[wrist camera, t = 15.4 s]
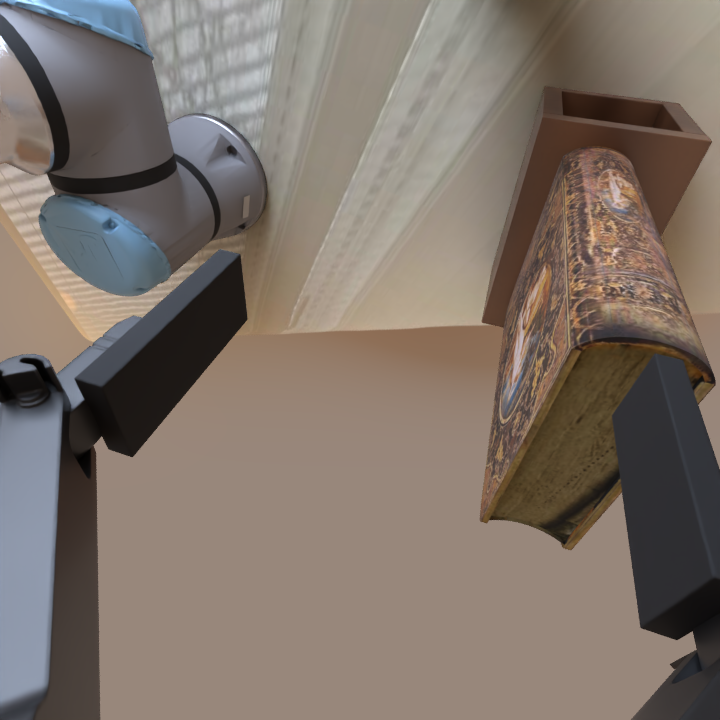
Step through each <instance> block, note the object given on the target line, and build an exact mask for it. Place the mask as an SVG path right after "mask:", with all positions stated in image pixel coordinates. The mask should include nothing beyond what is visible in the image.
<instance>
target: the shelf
mask: <svg viewBox="0 0 720 720" xmlns="http://www.w3.org/2000/svg"><path fill="white" fill-rule="evenodd" d="M711 143H712V141H711V140H710V139H709V137H708V136H707V135H706V134H705V133H704V132H703V131H702V130H701V129H700V127H699V126H698V125H697V124H696V123H695V122H694V120H693V119H692V118H691V117H690V116H689V115H688V113H687V112H686V111H685V110H684V109H683V108H682V106H681V105H680V104H678V103H671V102H663V101H662V102H661V101H655V100H648V99H640V98H632V97H624V96H617V95H609V94H601V93H593V92H586V91H578V90H570V89H561V88H555V87H547V86H545V87H544V89H543V93H542V96H541V100H540V103H539V107H538V110H537V114H536V117H535V121H534V124H533V128H532V131H531V135H530V138H529V142H528V145H527V149H526V152H525V156H524V159H523V162H522V166H521V169H520V173H519V176H518V180H517V183H516V187H515V190H514V194H513V197H512V201H511V204H510V208H509V211H508V215H507V218H506V222H505V225H504V229H503V232H502V235H501V239H500V242H499V246H498V249H497V253H496V256H495V260H494V263H493V267H492V271H491V277H490V282H489V287H488V292H487V297H486V302H485V307H484V312H483V317H482V323H486V324H491V325H495V326H500V327H504V323H505V317H506V312H507V308H508V304H509V302H510V299H511V296H512V293H513V290H514V288H515V285H516V282H517V279H518V277H519V274H520V271H521V269H522V266H523V263H524V260H525V258H526V255H527V252H528V249H529V247H530V244H531V241H532V239H533V236H534V233H535V230H536V228H537V225H538V222H539V220H540V217H541V214H542V211H543V209H544V206H545V203H546V201H547V198H548V195H549V192H550V190H551V187H552V184H553V182H554V179H555V176H556V173H557V171H558V168H559V165H560V163H561V160H562V158H563V157H564V156H565V155H566V154H568V153H569V152H571V151H573V150H575V149H578V148H582V147H588V146H600V147H606V148H611V149H614V150H616V151H619V152H621V153H622V154H624V155H625V156H626V157H627V158H628V159H629V160H630V161H631V163H632V165H633V167H634V170H635V173H636V175H637V178H638V180H639V183H640V186H641V188H642V191H643V193H644V196H645V198H646V201H647V204H648V206H649V209H650V211H651V214H652V217H653V219H654V222H655V224H656V227H657V229H658V232H659V235H660V237H661V235H662V233H663V231H664V229H665V227H666V226H667V224H668V222H669V220H670V218H671V216H672V215H673V213H674V211H675V209H676V207H677V205H678V204H679V202H680V200H681V198H682V196H683V194H684V192H685V191H686V189H687V187H688V185H689V183H690V181H691V180H692V178H693V176H694V174H695V172H696V170H697V168H698V167H699V165H700V163H701V161H702V159H703V157H704V156H705V154H706V152H707V150H708V148H709V146H710V144H711Z"/></svg>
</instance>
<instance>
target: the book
mask: <svg viewBox="0 0 720 720" xmlns="http://www.w3.org/2000/svg"><path fill="white" fill-rule="evenodd" d="M654 354H659V355H664V356H668V357H672V358H676V359H680V360H683V361H684V364H685V367H686V370H687V373H688V376H689V379H690V382H691V385H692V388H693V391H694V394H695V397H696V400H697V403H698V404H699V403H700V402H701V401H702V400H703V398H704V397H705V396H706V395H707V394H708V393H709V392H710V390H711V389H712V388H713V387H714V386H715V377H714V374H713V372H712V369H711V367H710V364H709V361H708V359H707V356H706V354H705V351H704V348H703V346H702V343H701V341H700V338H699V336H698V333H697V330H696V328H695V325H694V323H693V320H692V317H691V315H690V312H689V310H688V307H687V304H686V302H685V299H684V297H683V294H682V292H681V289H680V286H679V284H678V281H677V279H676V276H675V273H674V271H673V268H672V266H671V263H670V260H669V258H668V255H667V253H666V250H665V248H664V245H663V242H662V240H661V237H660V235H659V232H658V229H657V227H656V224H655V222H654V219H653V217H652V214H651V211H650V209H649V206H648V204H647V201H646V198H645V196H644V193H643V191H642V188H641V186H640V183H639V180H638V178H637V175H636V173H635V170H634V167H633V165H632V163H631V161H630V160H629V159H628V158H627V157H626V156H625V155H624V154H622V153H621V152H619V151H616V150H614V149H611V148H606V147H600V146H588V147H582V148H578V149H575V150H573V151H571V152H569V153H568V154H566V155H565V156H564V157H563V158H562V160H561V163H560V165H559V168H558V171H557V173H556V176H555V179H554V182H553V184H552V187H551V190H550V192H549V195H548V198H547V201H546V203H545V206H544V209H543V211H542V214H541V217H540V220H539V222H538V225H537V228H536V230H535V233H534V236H533V239H532V241H531V244H530V247H529V249H528V252H527V255H526V258H525V260H524V263H523V266H522V269H521V271H520V274H519V277H518V279H517V282H516V285H515V288H514V290H513V293H512V296H511V299H510V302H509V304H508V308H507V312H506V317H505V323H504V331H503V339H502V347H501V354H500V362H499V369H498V377H497V385H496V392H495V401H494V408H493V415H492V424H491V431H490V439H489V446H488V454H487V462H486V469H485V477H484V486H483V493H482V501H481V510H480V521H481V522H484V523H487V522H488V521H489V520H508V521H513V522H518V523H522V524H526V525H529V526H531V527H534V528H537V529H539V530H541V531H543V532H545V533H547V534H549V535H551V536H552V537H554V538H556V539H557V540H558V541H560V542H561V544H562V547H563V548H565V549H568V550H572V549H573V548H574V546H575V545H576V544H577V543H578V541H579V540H580V539H581V538H582V537H583V536H584V535H585V534H586V533H587V532H588V530H589V529H590V528H591V527H592V526H593V525H594V523H595V522H596V521H597V520H598V519H599V518H600V517H601V515H602V514H603V513H604V512H605V511H606V510H607V509H608V507H609V506H610V505H611V504H612V503H613V502H614V501H615V499H616V498H617V497H618V496H619V495H620V494H621V493H622V488H621V480H620V473H619V466H618V458H617V451H616V444H615V436H614V429H613V421H612V415H613V413H614V412H615V410H616V409H617V407H618V406H619V404H620V403H621V402H622V400H623V399H624V397H625V396H626V394H627V393H628V391H629V390H630V389H631V387H632V386H633V384H634V383H635V381H636V380H637V378H638V377H639V375H640V374H641V373H642V371H643V370H644V368H645V367H646V365H647V364H648V362H649V361H650V360H651V358H652V357H653V355H654Z"/></svg>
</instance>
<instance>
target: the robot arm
mask: <svg viewBox="0 0 720 720" xmlns="http://www.w3.org/2000/svg"><path fill="white" fill-rule="evenodd" d="M153 59H154V57H153V54H152V52H151V51H150V49H149V48H148V44H147V41H146V37H145V33H144V30H143V26H142V23H141V19H140V16H139V14H138V12H137V10H136V8H135V7H134V6H133V5H132V4H131V2H130V1H129V0H0V164H3V163H7V164H9V165H12V166H14V167H16V168H18V169H20V170H22V171H24V172H26V173H29V174H32V175H43V174H47V175H48V177H49V180H50V182H51V185H52V187H53V189H54V192H55V195H53V196H51V197H49V198H48V199H47V200H46V201H45V203H44V204H43V205H42V207H41V209H40V212H41V213H40V215H39V225H40V228H41V231H42V234H43V236H44V238H45V240H46V241H47V243H48V245H49V246H50V248H51V249H52V250H53V252H54V253H55V254H56V255H57V257H58V258H59V259H60V260H61V261H62V262H63V263H64V264H65V265H66V266H67V267H68V268H69V269H70V270H72V271H73V272H74V273H75V274H76V275H78V276H80V277H81V278H82V279H84V280H85V281H86V282H88V283H90V284H91V285H93V286H95V287H97V288H99V289H101V290H103V291H106V292H108V293H112V294H115V295H120V296H138V295H141V294H144V293H146V292H148V291H149V290H151V289H152V288H154V287H155V286H156V285H158V284H160V283H162V282H165V281H166V280H167V279H168V278H169V277H170V276H171V275H172V274H173V273H174V272H175V271H177V270H178V269H179V268H180V267H181V266H182V265H183V264H185V263H186V262H187V261H188V260H189V259H190V258H192V257H193V256H194V255H195V254H196V253H197V252H198V251H200V250H201V249H202V248H203V247H204V246H205V245H207V244H208V243H209V242H210V241H212V240H216V239H221V238H226V237H230V236H234V235H237V234H239V233H241V232H243V231H245V230H247V229H248V228H249V227H251V226H252V225H253V224H254V223H255V222H256V221H257V220H258V219H259V217H260V216H261V214H262V212H263V210H264V207H265V203H266V197H267V187H266V180H265V175H264V172H263V168H262V166H261V163H260V161H259V159H258V157H257V155H256V153H255V152H254V150H253V149H252V147H251V146H250V144H249V143H248V142H247V140H246V139H245V138H244V137H243V136H242V135H241V134H240V133H239V132H238V131H237V130H236V129H234V128H233V127H232V126H230V125H229V124H228V123H226V122H224V121H222V120H221V119H218V118H216V117H213V116H210V115H206V114H189V115H186V116H183V117H181V118H178V119H176V120H174V121H173V122H171V123H170V124H169V125H167V121H166V117H165V113H164V109H163V105H162V101H161V97H160V93H159V88H158V84H157V80H156V76H155V72H154V68H153V64H152V60H153ZM246 321H247V309H246V300H245V291H244V282H243V273H242V264H241V255H240V254H238V253H233V252H229V251H225V250H221V249H220V250H218V251H217V252H216V253H215V254H214V255H213V256H212V257H211V258H209V259H208V260H207V261H206V262H205V263H204V264H203V265H202V266H200V267H199V268H198V269H197V270H196V271H195V272H194V273H192V274H191V275H190V276H189V277H188V278H187V279H186V280H185V281H183V282H182V283H181V284H180V285H179V286H178V287H177V288H176V289H174V290H173V291H172V292H171V293H170V294H169V295H168V296H167V297H165V298H164V299H163V300H162V301H161V302H160V303H159V304H158V305H156V306H155V307H154V308H153V309H152V310H151V311H150V312H149V313H147V314H146V315H145V316H144V317H143V318H141V317H137V316H132V317H130V318H127V319H125V320H123V321H121V322H119V323H117V324H115V325H114V326H113V327H112V328H111V329H109V330H108V331H107V332H106V333H105V334H103V337H100V338H99V339H98V340H96V341H95V342H94V343H93V345H92V346H89V347H88V348H87V349H86V350H85V351H83V352H82V353H81V354H80V355H79V356H77V358H75V359H74V360H73V361H72V362H70V363H69V364H68V365H67V366H66V367H64V368H63V369H62V370H61V371H60V372H59V373H57V374H56V373H55V371H54V369H53V367H52V365H51V363H50V361H49V360H47V359H46V358H45V357H44V356H41V355H36V354H26V355H19V356H15V357H12V358H9V359H7V360H5V361H3V362H1V363H0V720H100V680H99V613H98V546H97V482H96V481H97V480H96V451H95V448H94V446H93V445H94V444H95V443H96V442H97V441H98V440H99V439H100V437H101V436H102V437H103V439H104V441H105V443H106V445H107V447H108V449H110V450H112V451H115V452H119V453H121V454H124V455H127V456H130V457H133V456H134V455H135V454H136V453H137V451H138V450H139V449H140V448H141V446H142V445H143V444H144V443H145V442H146V441H147V439H148V438H149V437H150V436H151V435H152V433H153V432H154V431H155V430H156V429H157V427H158V426H159V425H160V424H161V423H162V421H163V420H164V419H165V418H166V417H167V415H168V414H169V413H170V412H171V411H172V409H173V408H174V407H175V406H176V404H177V403H178V402H179V401H180V400H181V399H182V397H183V396H184V395H185V394H186V393H187V391H188V390H189V389H190V388H191V387H192V385H193V384H194V383H195V382H196V380H197V379H198V378H199V377H200V376H201V375H202V373H203V372H204V371H205V370H206V369H207V367H208V366H209V365H210V364H211V363H212V361H213V360H214V359H215V358H216V356H217V355H218V354H219V353H220V352H221V351H222V349H223V348H224V347H225V346H226V345H227V343H228V342H229V341H230V340H231V339H232V337H233V336H234V335H235V334H236V333H237V331H238V330H239V329H240V328H241V327H242V325H243V324H244V323H245V322H246ZM612 421H613V429H614V436H615V444H616V451H617V458H618V466H619V473H620V480H621V488H622V495H623V502H624V510H625V517H626V524H627V532H628V539H629V546H630V554H631V560H632V569H633V576H634V583H635V590H636V598H637V605H638V613H639V619H640V627H641V628H642V629H646V630H648V631H651V632H654V633H657V634H660V635H663V636H666V637H669V638H672V639H675V640H678V639H680V638H682V637H683V636H685V635H687V634H688V633H690V632H692V631H693V634H694V639H695V643H696V648H697V650H695V651H693V652H691V653H690V654H688V655H686V656H684V657H682V658H680V659H678V660H676V661H675V662H673V663H671V664H670V665H671V666H672V667H673V668H674V669H675V670H674V671H673V673H672V674H671V675H670V676H669V677H668V678H667V679H666V681H665V682H664V683H663V684H662V685H661V686H660V687H659V688H658V690H657V691H656V692H655V693H654V694H653V695H652V696H651V698H650V699H649V700H648V701H647V702H646V703H645V704H644V705H643V707H642V708H641V709H640V710H639V711H638V712H637V713H636V715H635V716H634V717H633V718H632V719H631V720H720V469H719V466H718V464H717V460H716V458H715V454H714V451H713V448H712V446H711V442H710V439H709V436H708V433H707V430H706V427H705V424H704V421H703V418H702V415H701V412H700V409H699V406H698V403H697V400H696V397H695V394H694V391H693V388H692V385H691V382H690V379H689V376H688V373H687V370H686V367H685V364H684V361H683V360H680V359H676V358H672V357H668V356H664V355H659V354H654V355H653V357H652V358H651V360H650V361H649V362H648V364H647V365H646V367H645V368H644V370H643V371H642V373H641V374H640V375H639V377H638V378H637V380H636V381H635V383H634V384H633V386H632V387H631V389H630V390H629V391H628V393H627V394H626V396H625V397H624V399H623V400H622V402H621V403H620V404H619V406H618V407H617V409H616V410H615V412H614V413H613V415H612Z"/></svg>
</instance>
